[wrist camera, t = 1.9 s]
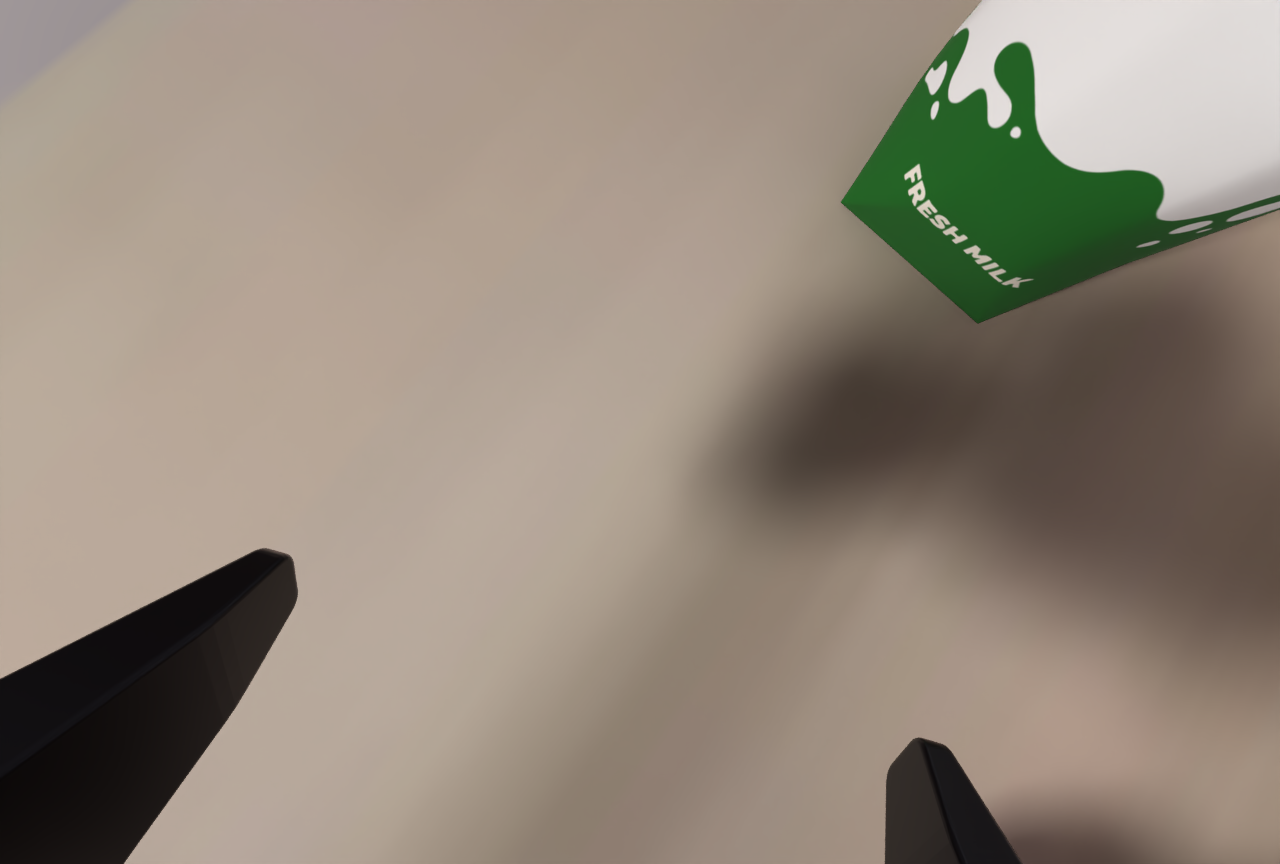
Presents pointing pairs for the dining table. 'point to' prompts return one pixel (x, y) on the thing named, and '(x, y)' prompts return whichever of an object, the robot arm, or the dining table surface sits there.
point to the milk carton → (1077, 143)
